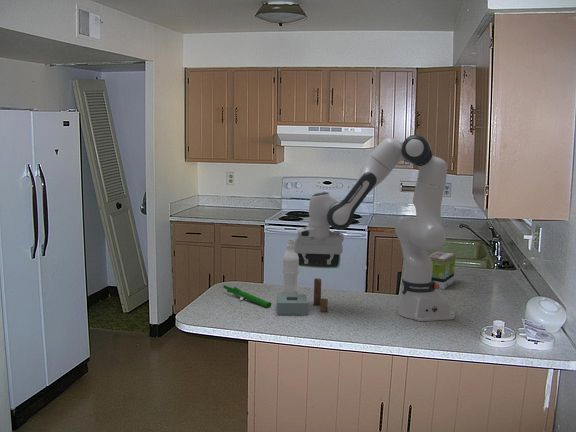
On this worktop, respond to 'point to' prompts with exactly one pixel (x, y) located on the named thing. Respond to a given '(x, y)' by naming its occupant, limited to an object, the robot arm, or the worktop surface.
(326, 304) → the short peg
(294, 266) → the water bottle
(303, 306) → the hole block
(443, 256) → the tea box
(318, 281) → the long peg
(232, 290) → the green onion
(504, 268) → the worktop surface
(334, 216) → the robot arm
